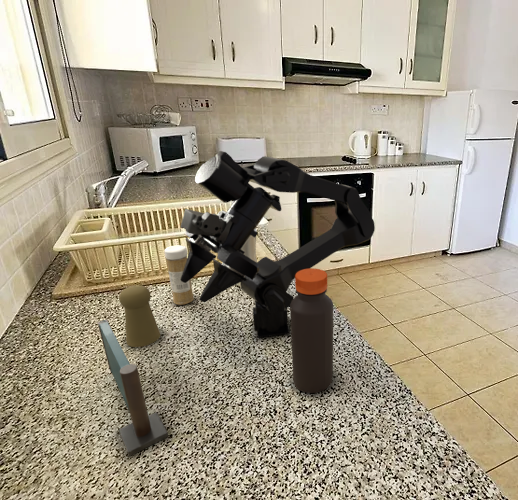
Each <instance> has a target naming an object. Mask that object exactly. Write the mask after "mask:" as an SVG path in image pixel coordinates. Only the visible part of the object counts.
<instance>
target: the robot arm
mask: <svg viewBox="0 0 518 500" xmlns="http://www.w3.org/2000/svg"><path fill="white" fill-rule="evenodd" d="M194 181H195V183H196V184H197V185H198V186H200V187H202V189H204V190H205V191H207V192H209V193H210V194H211V195H212V196H214V197H215V198H217V199H218V200H220V202H222V203H225V204H226V203H230V202H232V204H231V205H230V206H229V208H228V209H227V211H225V210H220V211H218V213H217V214H216V213H211V212H209V211H205V212H201V211H197V210H194V209H188V208H185V210H184V213H183V216H182V219H181V224H180V228H181V229H184V230H185V233H184V235H185V236H187V237H185V241H186V243H187V247H188V253H187V261H186V264H185V267H184V270H183V273H182V276H181V279H180V280H181V281H182V282H184V283H186V282H188V281H189V280H190V279H191V280H192V279H193V278H194V277H195V276H196V275H197V274H199V273H200V272H201V271H202V270H204V268H206V267H207V266H208V265H210V263H211V262H213V272H212V274H211V276H210V277H209V279H208V281H207V283H206V284H205V287H204V288H203V290H202V292H201V294H200V296H199V298H198V299H199V301H200V302H202V303H207V302H208V301H210V300H212V299H214V298H215V297H217V296H218V295H220V294H222V293H223V292H224V291H226V290H228V289H231V288H232V287H234V286H236V285H237V284H238V283H240V282H241V287H240V288H241V290H242V291H243V293H245V294H246V295H248V296H249V297H250V298H251V299H253V300H254V307H252V308H251V309H252V321H253V330H254V331H255V332H256V337H257V338H258V339H261V338H263V339H264V338H269V337H276V336H282V335H289V334H291V329H290V326H289V316H288V308H289V309H290V304H291V302H292V300H293V299H294V298H295V297H294V296H293V295H291V293H289V292H288V290H289V288H290V286H291V284H292V282H293V281H294V280H295V275H296V273H297V272H298V271H300V270H303V269H310V268H313V267H315V266H316V265H318V264H319V263H321V262H322V261H324V260H326V259H327V258H328V257H330V256H332V255H334V254H335V253H336V252H338V251H339V250H341V249H342V248H345V247H350V246H357V245H360V244H363V243H365V242H367V241H369V240H370V239H371V238H372V237H373V236H374V233H375V230H376V227H375V226H376V225H375V221H374V218H373V216H372V214H371V212H370V210H369V208H368V207H367V206H366V205H365V203H364V201H363V200H362V199H361V196H360V193H359V191H358V190H357V188H355V187H353V186H349V185H346V184H342V183H341V184H340V183H338V182H334V181H330V180H327V179H325V178H322V177H318V176H315V175H311V174H309V173H307V172H306V171H304V170H303V169H302V168H300V167H299V166H297V165H296V164H293V163H292V162H291V161H288V160H286V159H281V158H276V157H273V156H268V155H267V156H266V155H264V156H262V157H260V158H259V159H257V160H256V162H255V163H252V164H249V165H246V166H241V165H240V164H239V163H237V162H236V161H235V159H233V157H232V156H231V155H230V154H229V153H227V152H226V151H222V150H219V151H218V152H217V153H216V155H214V156H212V157H211V158H209V159H208V160H206V161H205V163H202V164H201V166H200V167H199V169H198V170H197V172H196V174H195V178H194ZM250 183H253V184H257V185H258V186H257V187H254V186H253V185H252V184H250ZM264 188H266V189H268V190H272V191H275V192H278V193H287V194H288V193H292V194H295V193H305V194H309V195H311V196H312V195H313V196H316V197H320V198H323V199H327V200H331V201H334V203H335V206H334V214H335V216H336V219H335V220H334V222H333V223H332V226H331V228H330V229H328V230H327V231H324V233H322V234H320V235H318V236H317V237H315V238H313V239H312V240H310V241H309V242H307V243H306V244H303V245H302V246H301V247H299V248H297V249H296V250H294V251H292V252H290V253H289V254H287V255H286V256H284V257H281V259H278V260H273V259H271V258H269V257H267V256H264V257H261V259H259V260H257V262H255V261H254V260H252V259H250V258H249V257H247V256H246V255H244V253H245V252H244V251H242V250H241V249H242V247H243V246H244V244H245V243H246V241H247V240H248V239H249V237H250V236H253V237H256V238H257V236H258V234H259V233H258V232H256V231H254V230H255V228H256V229H257V227H258V226H259V224H260V222H261V221H262V220H263V218H264V217H265V216H266V214H267V213H268V211H269V210H270V209H273V210H275V211H277V212H281V211H282V205H281V200H280V199H281V197H280V196H279V195H277V194H270V193H269V192H267V190H265V189H264ZM214 253H215V254H217V255H215V254H214ZM216 258H217V259H216Z"/></svg>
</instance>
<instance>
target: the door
mask: <svg viewBox="0 0 518 500" xmlns="http://www.w3.org/2000/svg"><path fill="white" fill-rule="evenodd" d="M97 327H98V330H99V334H100V339H101V343H102V345H103V350H104V354H105V357H106V361H107V365H108V369H109V372H110V373H111V374H112V376H113V379H114V382H115V383H116V386H117V388H118V390H119V392H120V394H121V395H120V396H122V399H123V401H124V403H125V406H126V408H127V411H129V408H128V404H127V400H126V395H125V391H124V387H123V383H122V379H121V375H120V369H121V368H122V367H124V366H126V365H129V364H131V363H130V360H129V359H128V357H127V355H126V354H125V352H124V350H123V348H122V346H121V344H120V341H118V338H117V336H116V335H115V333H114V331H113V329H112V327H111V326H110V322H109V320H108V319H103V320H100V321H97Z"/></svg>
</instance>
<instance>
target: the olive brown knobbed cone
mask: <svg viewBox="0 0 518 500" xmlns="http://www.w3.org/2000/svg"><path fill="white" fill-rule="evenodd" d="M151 296H152V295H151V292H150V290H149V288H148V287H147V286H145V285H137V284H136V285H131V286H128V287H126V288H124V289H122V290H121V291H120V293H119V295H118V299H119V304H120V306H122V307H123V308H124V323H125V339H126V340H125V342H126V345H127V346H128V347H132V348H141V347H146V346H149V345H151V344H154V343H155V342H157V341H158V340H159V339H160V337H161V331H160V329H159V326H158V323H157V321H156V318H155V315H154V313H153V310H152V307H151V305H150V301H151V299H152V298H151Z"/></svg>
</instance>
